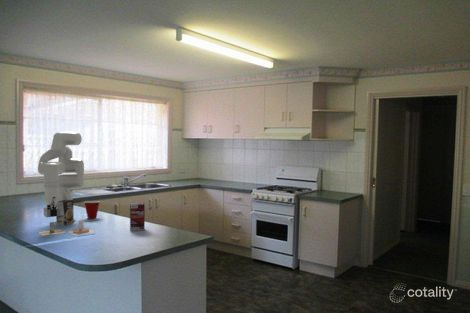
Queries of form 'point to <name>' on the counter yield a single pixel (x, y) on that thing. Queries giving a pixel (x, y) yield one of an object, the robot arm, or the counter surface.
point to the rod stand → (52, 230)
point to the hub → (81, 230)
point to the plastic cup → (91, 208)
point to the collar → (48, 212)
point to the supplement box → (137, 216)
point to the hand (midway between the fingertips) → (51, 214)
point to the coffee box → (65, 212)
